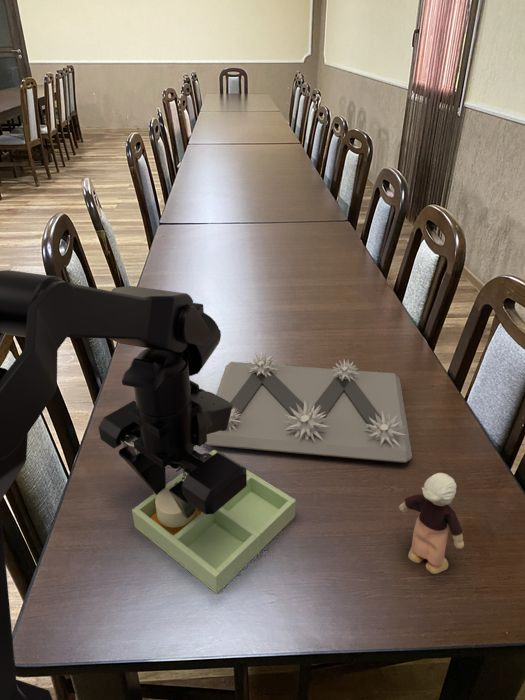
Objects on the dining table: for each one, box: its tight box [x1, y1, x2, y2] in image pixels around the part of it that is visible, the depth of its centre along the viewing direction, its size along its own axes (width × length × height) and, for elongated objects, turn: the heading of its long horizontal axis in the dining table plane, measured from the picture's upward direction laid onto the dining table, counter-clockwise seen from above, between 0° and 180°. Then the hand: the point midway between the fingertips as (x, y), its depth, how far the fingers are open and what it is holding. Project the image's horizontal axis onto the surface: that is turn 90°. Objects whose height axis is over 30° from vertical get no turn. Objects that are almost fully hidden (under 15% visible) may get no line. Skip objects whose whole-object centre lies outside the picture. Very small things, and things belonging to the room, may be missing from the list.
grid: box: [131, 449, 297, 595], centre depth 66 cm, size 14×14×3 cm
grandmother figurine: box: [398, 472, 465, 575], centre depth 59 cm, size 8×4×13 cm, turn 58°
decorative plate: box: [204, 351, 413, 464], centre depth 83 cm, size 30×22×7 cm
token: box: [155, 485, 195, 528], centre depth 65 cm, size 5×5×2 cm
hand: (175, 504), depth 65 cm, fingers open, 5 cm apart
